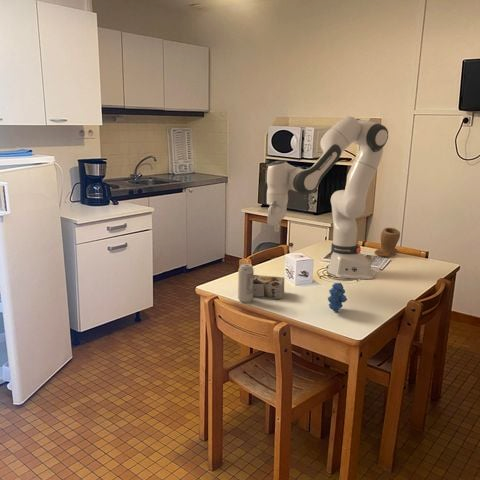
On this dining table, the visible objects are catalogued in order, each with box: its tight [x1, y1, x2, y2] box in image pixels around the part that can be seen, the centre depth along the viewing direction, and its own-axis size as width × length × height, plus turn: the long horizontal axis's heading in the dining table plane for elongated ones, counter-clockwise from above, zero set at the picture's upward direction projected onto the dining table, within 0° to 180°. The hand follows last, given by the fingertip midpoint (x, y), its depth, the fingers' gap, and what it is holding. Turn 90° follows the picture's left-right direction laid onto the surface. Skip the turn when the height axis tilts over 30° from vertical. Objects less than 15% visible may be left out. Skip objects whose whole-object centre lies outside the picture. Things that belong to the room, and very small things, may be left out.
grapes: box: [327, 282, 348, 313], centre depth 184 cm, size 12×7×12 cm, turn 144°
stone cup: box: [374, 227, 401, 258], centre depth 261 cm, size 15×12×15 cm
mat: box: [253, 296, 279, 301], centre depth 204 cm, size 16×12×1 cm
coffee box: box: [253, 274, 286, 299], centre depth 202 cm, size 9×6×16 cm
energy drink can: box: [237, 263, 255, 304], centre depth 194 cm, size 6×6×15 cm
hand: (276, 231), depth 207 cm, fingers closed
